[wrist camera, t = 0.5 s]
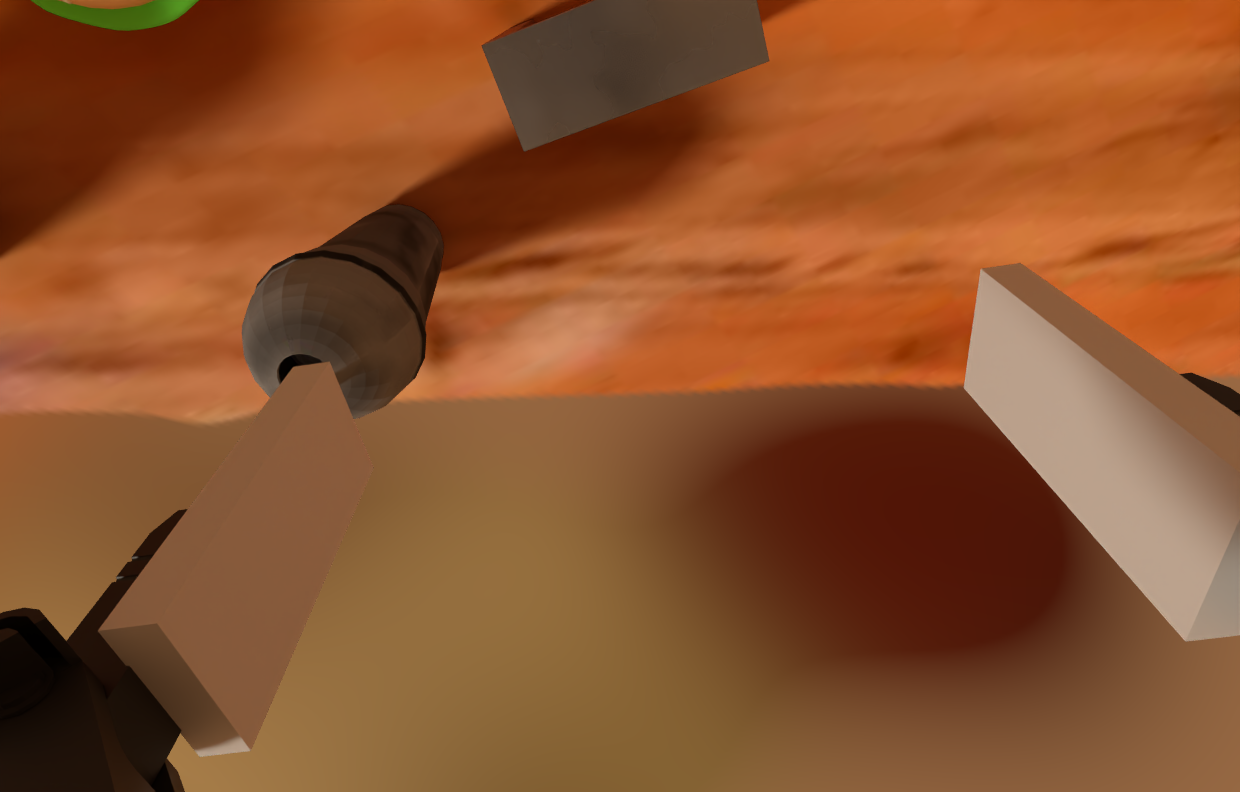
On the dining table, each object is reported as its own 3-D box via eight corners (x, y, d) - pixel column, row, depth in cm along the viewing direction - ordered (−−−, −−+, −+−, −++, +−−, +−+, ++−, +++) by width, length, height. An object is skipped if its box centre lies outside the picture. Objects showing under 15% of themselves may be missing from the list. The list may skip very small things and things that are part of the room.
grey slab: (509, 28, 34) (481, 45, 26) (706, -51, 33) (744, -59, 24) (540, 110, 36) (523, 151, 28) (727, 40, 35) (769, 61, 26)
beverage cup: (347, 159, 37) (134, 317, 20) (482, 204, 38) (390, 389, 21) (328, 280, 40) (132, 505, 23) (452, 318, 42) (353, 555, 25)
